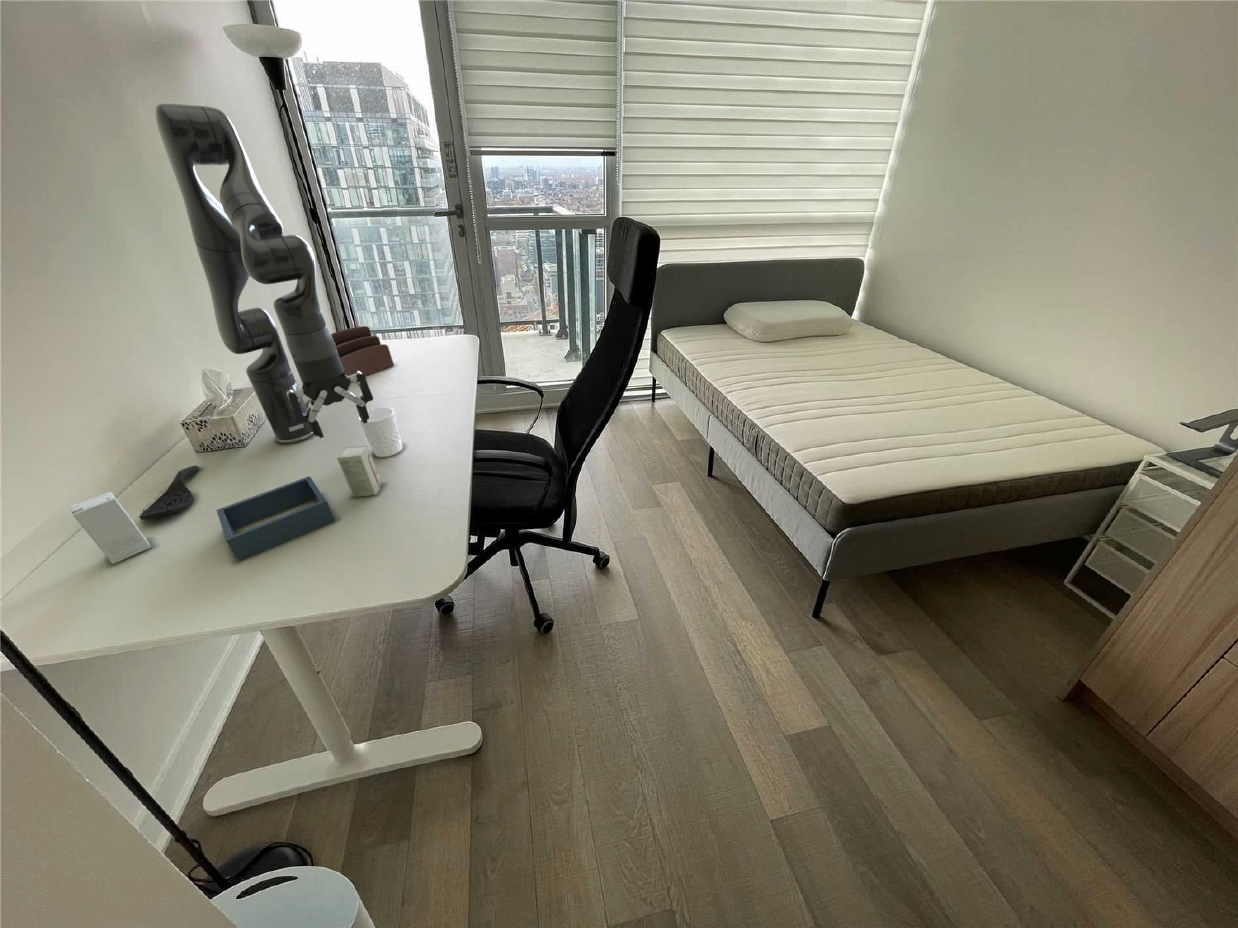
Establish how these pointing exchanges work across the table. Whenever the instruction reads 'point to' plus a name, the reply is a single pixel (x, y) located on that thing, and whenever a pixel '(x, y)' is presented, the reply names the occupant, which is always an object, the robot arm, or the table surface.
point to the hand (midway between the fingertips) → (343, 429)
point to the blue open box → (276, 528)
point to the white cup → (382, 432)
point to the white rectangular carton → (360, 471)
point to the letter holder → (361, 351)
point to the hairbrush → (172, 496)
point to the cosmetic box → (110, 527)
